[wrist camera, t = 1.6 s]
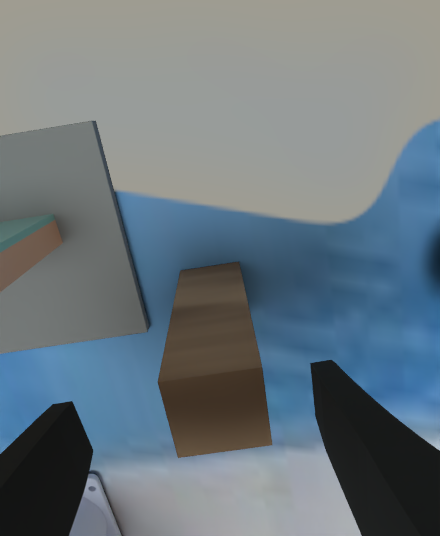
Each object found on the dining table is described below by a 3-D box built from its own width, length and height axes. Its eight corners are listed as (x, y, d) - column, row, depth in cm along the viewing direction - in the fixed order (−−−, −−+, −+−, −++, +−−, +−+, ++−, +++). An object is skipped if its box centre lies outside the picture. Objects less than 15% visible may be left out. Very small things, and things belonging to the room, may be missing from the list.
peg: (246, 313, 20) (272, 444, 12) (191, 321, 20) (177, 457, 12) (238, 261, 19) (262, 367, 11) (180, 270, 19) (157, 382, 11)
